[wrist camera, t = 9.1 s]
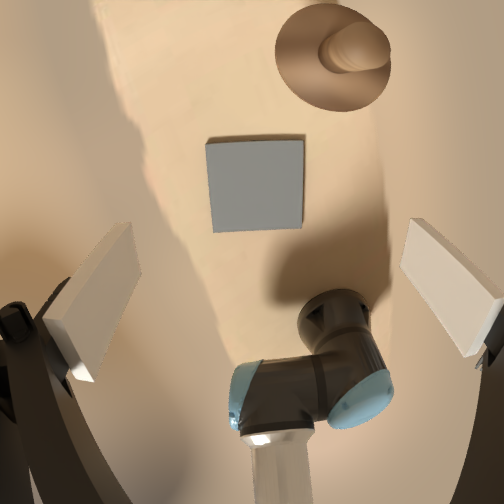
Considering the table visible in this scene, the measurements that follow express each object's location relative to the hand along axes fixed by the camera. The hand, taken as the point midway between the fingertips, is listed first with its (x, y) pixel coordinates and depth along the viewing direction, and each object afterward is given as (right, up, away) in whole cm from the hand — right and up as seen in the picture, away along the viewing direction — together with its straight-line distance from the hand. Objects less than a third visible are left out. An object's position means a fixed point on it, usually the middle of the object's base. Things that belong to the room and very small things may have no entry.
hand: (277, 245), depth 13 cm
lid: (+7, +19, +11) cm, 23 cm away
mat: (0, +10, +31) cm, 32 cm away
